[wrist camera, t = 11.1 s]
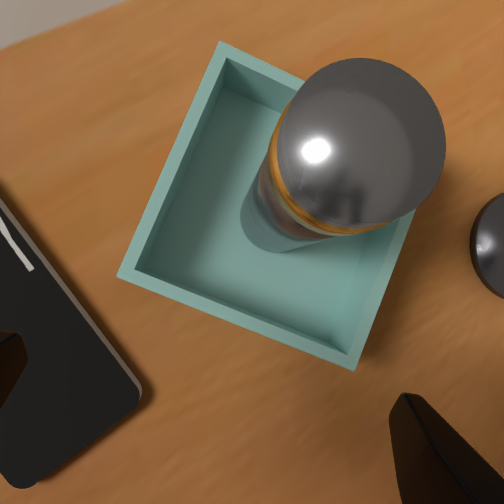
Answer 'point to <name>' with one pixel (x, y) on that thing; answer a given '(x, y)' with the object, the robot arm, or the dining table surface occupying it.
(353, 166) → the strut
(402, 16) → the dining table surface
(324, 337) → the bin
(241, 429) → the dining table surface
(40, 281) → the smartphone
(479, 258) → the dark metal disc
